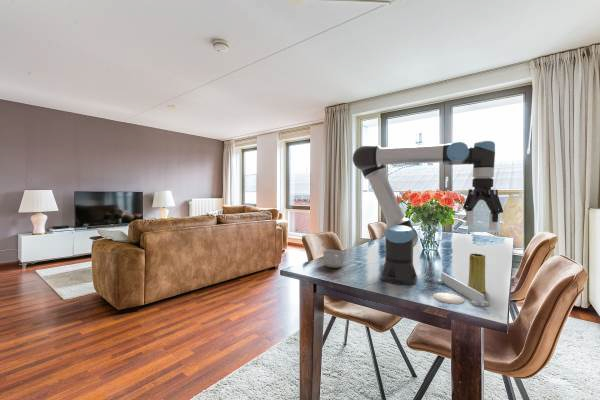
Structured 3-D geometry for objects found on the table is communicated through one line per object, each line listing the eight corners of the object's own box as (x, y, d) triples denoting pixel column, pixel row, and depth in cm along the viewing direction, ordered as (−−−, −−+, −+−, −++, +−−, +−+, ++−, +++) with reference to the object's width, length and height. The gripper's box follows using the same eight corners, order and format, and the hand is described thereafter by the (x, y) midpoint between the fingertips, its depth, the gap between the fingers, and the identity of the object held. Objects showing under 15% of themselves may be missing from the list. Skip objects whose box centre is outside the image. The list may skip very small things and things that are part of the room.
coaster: (442, 304, 97) (442, 303, 97) (428, 293, 107) (428, 292, 107) (470, 303, 97) (470, 303, 97) (453, 293, 107) (453, 292, 107)
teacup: (323, 263, 151) (323, 248, 150) (344, 264, 149) (344, 249, 149) (322, 270, 137) (322, 254, 137) (344, 271, 135) (344, 255, 135)
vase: (463, 288, 113) (464, 253, 112) (476, 287, 114) (477, 252, 114) (476, 293, 107) (477, 257, 106) (489, 292, 108) (490, 256, 108)
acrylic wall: (475, 306, 95) (475, 294, 95) (436, 281, 121) (436, 272, 121) (489, 306, 95) (490, 294, 95) (447, 281, 121) (447, 272, 121)
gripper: (516, 177, 107) (513, 232, 108) (470, 179, 132) (468, 223, 133) (498, 176, 106) (495, 232, 107) (455, 178, 131) (453, 223, 132)
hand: (480, 227), depth 120 cm, fingers open, 13 cm apart
